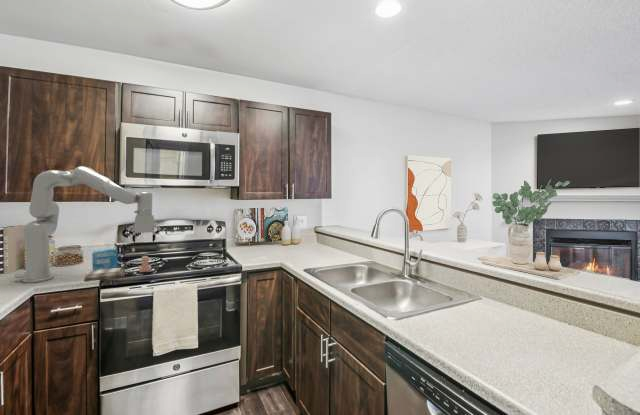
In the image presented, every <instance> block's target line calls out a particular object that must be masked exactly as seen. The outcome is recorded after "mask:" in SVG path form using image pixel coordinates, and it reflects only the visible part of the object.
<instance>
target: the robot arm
mask: <svg viewBox="0 0 640 415" xmlns="http://www.w3.org/2000/svg"><path fill="white" fill-rule="evenodd" d="M81 184H84V185H86V186H89V187H90V188H92V189H94V190H96V191H98V192H100V193H102V194H104V195H106V196H107V197H110V198H111V199H113V200H115V201H117V202H119V203H122V204H125V205H131V204H132V205H133V204H137V208H136V209H137V210H134V211H133V212H134V214H135V217H134V224H132V225H131V226H128V227H127V228H126V230H127V231H128V232H129V234H130V235H131V236H132V237H131V238H132V242H133V243H136V234H137V233H152V242H153V243H154V242H155V241H156V235H157V234H158V233H159V232H160V230H161V229H162V228H161V227H160V226H159V225H156V224H155V218H154V214H153V193H152V192H150V191H133V190H128V189H126V188H124V187H123V186H120V185H118V184H116V183H115V182H113V180H111V178H110V177H107V176H106V175H103V174H101V173H99V172H97V171H95V170H94V169H93V168H92V167H88V166H82V165H80V166H77V167H75V168H74V169H70V170H58V169H52V170H51V169H50V170H46V171H43V172H40V173H39V174H38V175H37V176H36V177H35V178H34V181H33V184H32V185H33V186H32V190H31V198H30V203H29V209H28V211H29V214H30V216H31V217H33V218H35V219H36V220H33V221H30V222H28V223H26V224H25V225H24V227H23V230H22V234H23V239H24V245H25V247H24V248H25V250H24V251H25V272H23V273H15V274H14V278H17V279H21V278H22V279H21V281H22V282H23V283H27V284H29V283H41V282H45V281H49V280H53V279H54V278H55V275H54V274H51V251H50V250H51V247H50V245H51V244H50V240H49V237H48V236H51V235H53V234H54V233H56V231H57V227H58V221H59V215H60V206H59V205H58V203H57V202H55V201H53V199H54V193H55V192H54V188H55V187H70V186H77V185H81ZM155 228H156V230H155ZM132 229H133V231H132Z"/></svg>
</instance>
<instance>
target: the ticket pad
mask: <svg viewBox="0 0 640 415" xmlns="http://www.w3.org/2000/svg"><path fill="white" fill-rule="evenodd" d="M123 269H124V267H117V268H113V269H102V270H93V269H92V270H88V271H87V273H86V275H85V276H84V280H83V281H84V282H92V281H100V280H101V281H102V280H110V279H119V278H125V277H126V276H125V274H126V272H125V270H123Z"/></svg>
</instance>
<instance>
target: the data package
mask: <svg viewBox="0 0 640 415" xmlns="http://www.w3.org/2000/svg"><path fill="white" fill-rule="evenodd" d="M91 256H92V257H91V258H92V260H91V261H92V262H91V264H92V270H102V269H113V268H119V264H118V263H119V261H118V260H119V257H118V256H119V253H118V250H117V249H114V248H109V249H102V250H101V249H100V250H93V252H92V254H91Z"/></svg>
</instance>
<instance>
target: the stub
mask: <svg viewBox="0 0 640 415" xmlns="http://www.w3.org/2000/svg"><path fill="white" fill-rule="evenodd" d="M138 271H139V273H145V272H146V273H147V272H152V266H151V264H149V256H148V255H143V256H141V265H138Z"/></svg>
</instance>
